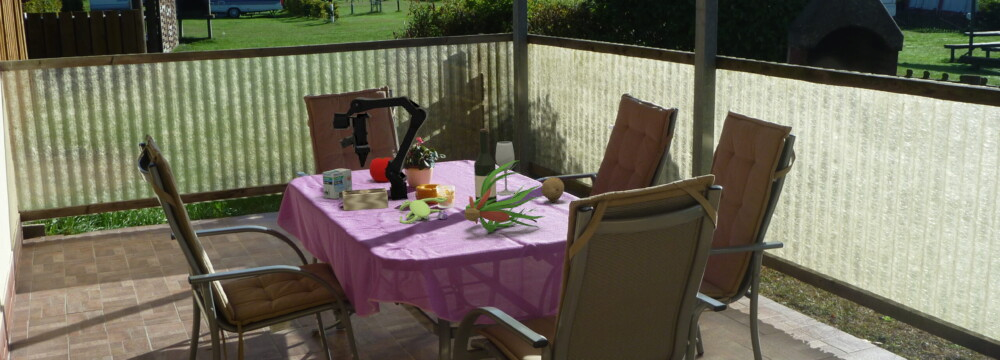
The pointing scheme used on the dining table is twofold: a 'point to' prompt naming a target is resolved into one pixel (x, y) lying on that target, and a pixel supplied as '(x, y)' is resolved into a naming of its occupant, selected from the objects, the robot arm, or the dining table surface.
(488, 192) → the decorative plant
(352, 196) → the birch block
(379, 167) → the tomato
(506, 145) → the wineglass
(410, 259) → the dining table surface
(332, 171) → the light bulb box
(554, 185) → the coconut
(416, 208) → the figurine
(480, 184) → the wine bottle
